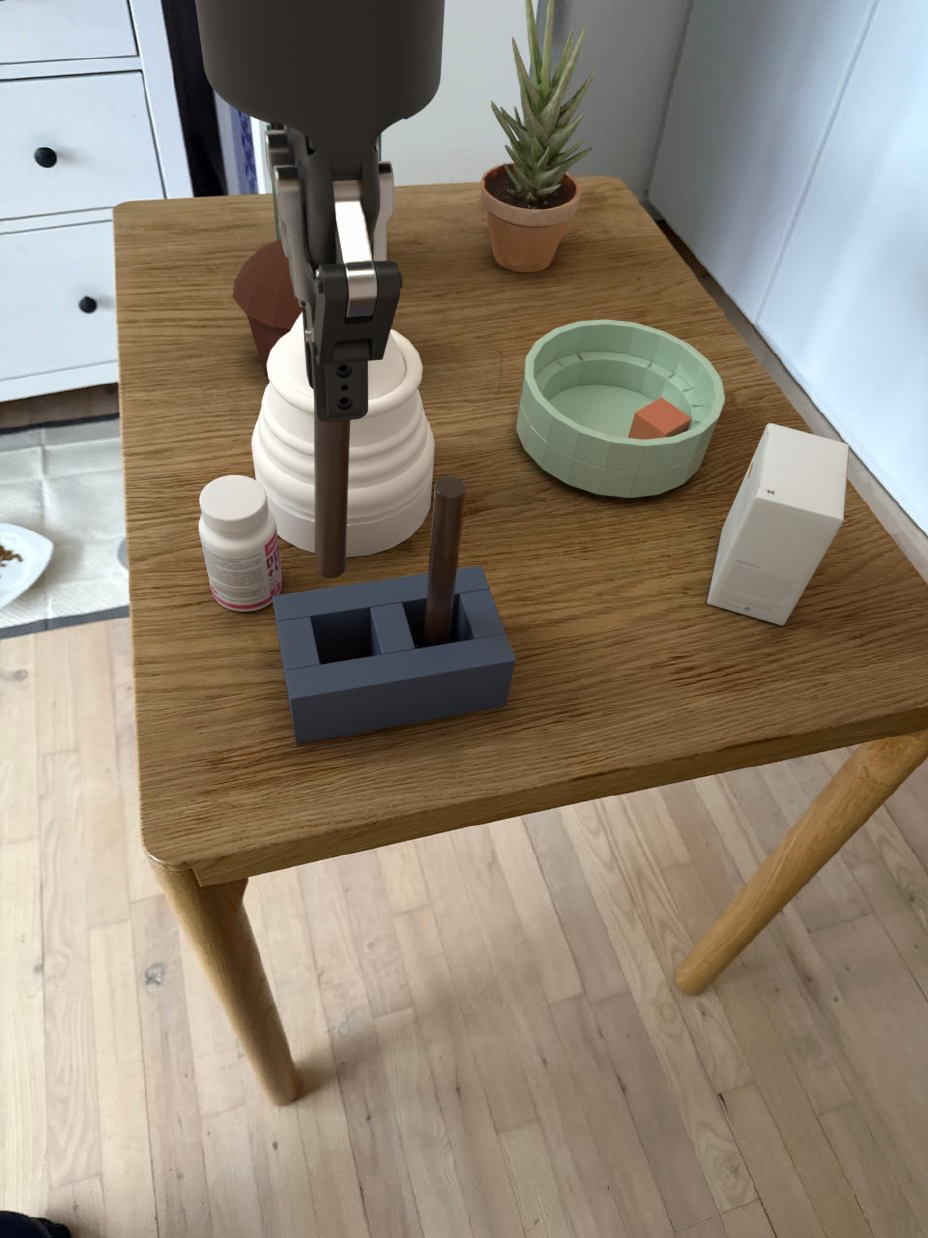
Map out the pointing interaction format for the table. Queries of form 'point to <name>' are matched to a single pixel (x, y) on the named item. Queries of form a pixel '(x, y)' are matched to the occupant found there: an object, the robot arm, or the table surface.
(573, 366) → the bowl
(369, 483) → the honey pot
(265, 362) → the muffin
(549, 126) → the potted plant
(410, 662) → the stand
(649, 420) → the block
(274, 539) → the pill bottle
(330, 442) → the brown rod
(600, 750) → the table surface
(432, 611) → the brown wooden peg
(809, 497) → the small box
